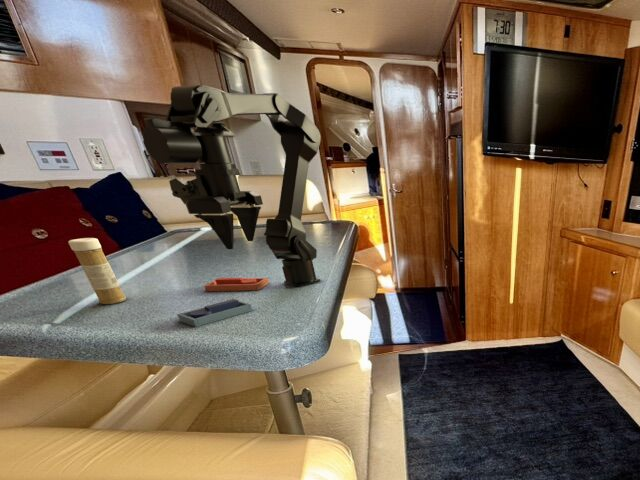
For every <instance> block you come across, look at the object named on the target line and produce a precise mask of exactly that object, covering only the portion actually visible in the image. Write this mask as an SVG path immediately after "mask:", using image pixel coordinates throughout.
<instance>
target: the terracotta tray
mask: <svg viewBox="0 0 640 480" xmlns="http://www.w3.org/2000/svg"><path fill="white" fill-rule="evenodd" d="M243 278H244V280H245V279H256V281H257V283H256V284H231V285H217V284H216V281H215V280H216V279H214V280H212V281H211V282H209V283H207V284H205V285H203V287H204V289H205V292H230V291H231V292H232V291H233V292H234V291H235V292H236V291H260V290H261V289H262V288H264V287H266V286H267V285H269V284H270V282H269V279H268V277H252V278H251V277H246V278H245V277H243Z"/></svg>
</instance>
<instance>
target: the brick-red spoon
mask: <svg viewBox="0 0 640 480" xmlns="http://www.w3.org/2000/svg"><path fill="white" fill-rule="evenodd" d="M244 278H245V277H218V278H216V279H214V280H215V281H216V284H217V285H231V284H256V283H257V281H256V279H245V280H244Z"/></svg>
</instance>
